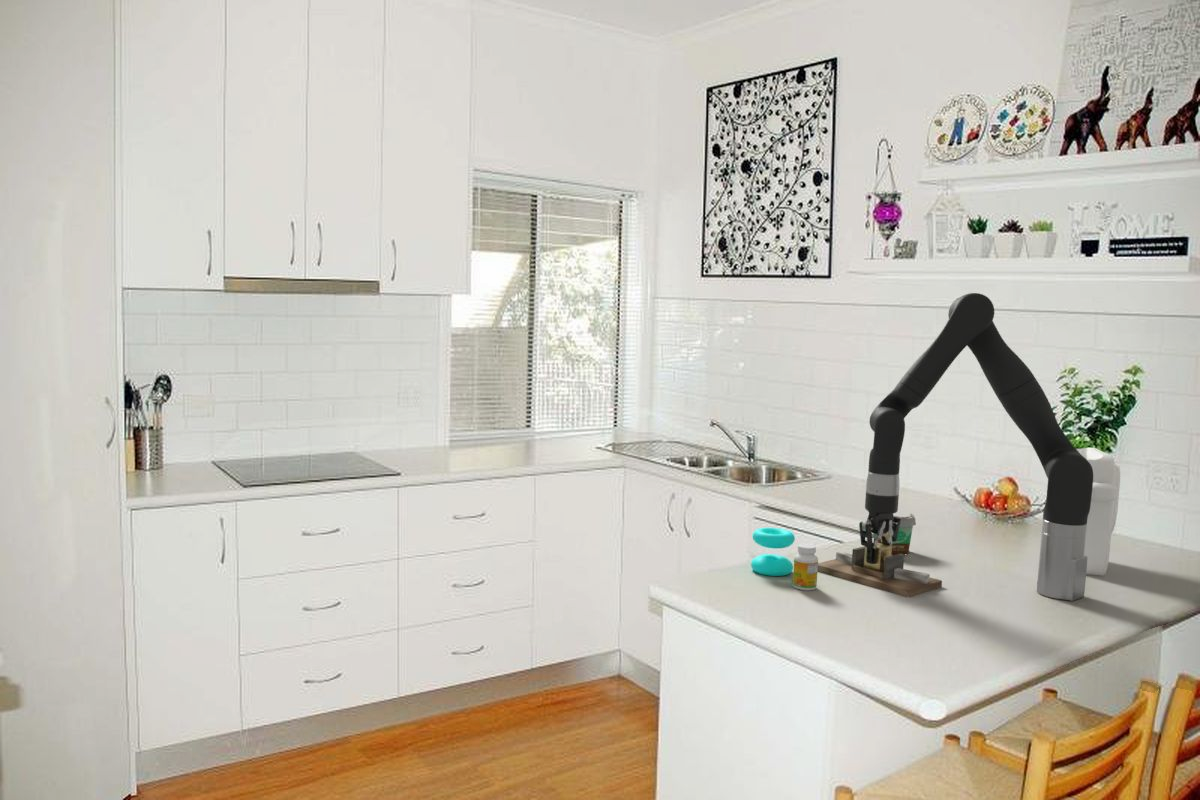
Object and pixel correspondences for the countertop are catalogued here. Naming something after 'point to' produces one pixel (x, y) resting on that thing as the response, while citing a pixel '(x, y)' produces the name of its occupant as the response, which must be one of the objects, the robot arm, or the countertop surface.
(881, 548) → the tan block
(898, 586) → the board
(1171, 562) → the countertop surface
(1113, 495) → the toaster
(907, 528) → the food container
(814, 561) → the supplement bottle
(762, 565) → the donuts
